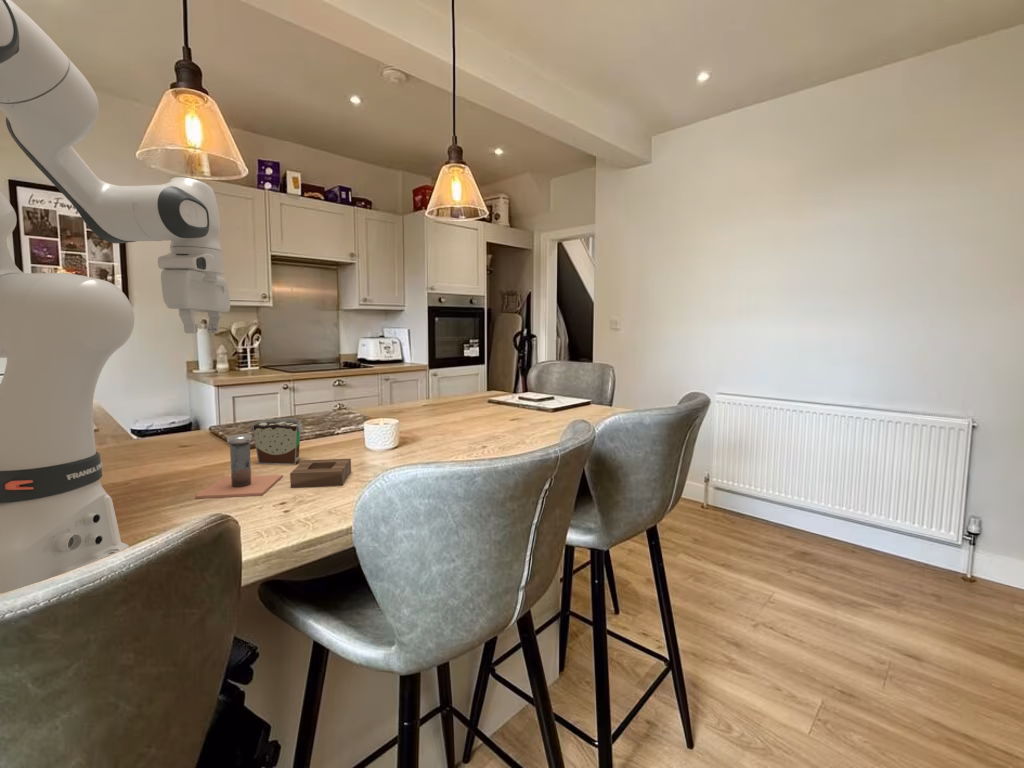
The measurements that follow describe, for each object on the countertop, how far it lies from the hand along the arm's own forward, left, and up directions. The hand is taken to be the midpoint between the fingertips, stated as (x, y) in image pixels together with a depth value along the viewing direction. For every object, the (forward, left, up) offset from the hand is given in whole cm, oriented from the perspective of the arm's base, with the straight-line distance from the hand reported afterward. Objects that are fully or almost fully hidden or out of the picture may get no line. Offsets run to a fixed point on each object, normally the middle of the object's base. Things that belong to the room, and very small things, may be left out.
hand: (202, 333), depth 100 cm
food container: (+14, -10, -31) cm, 36 cm away
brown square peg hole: (-3, -23, -31) cm, 39 cm away
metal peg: (-6, -8, -31) cm, 32 cm away
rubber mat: (-6, -8, -31) cm, 33 cm away
